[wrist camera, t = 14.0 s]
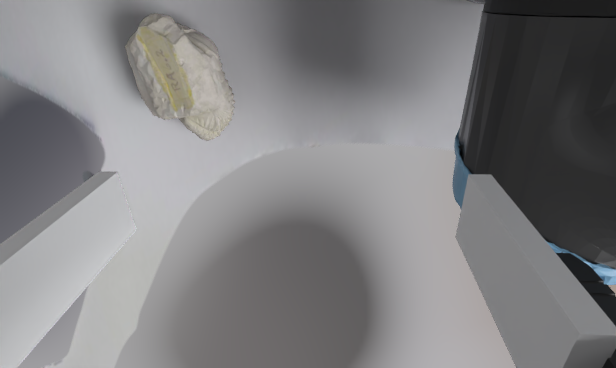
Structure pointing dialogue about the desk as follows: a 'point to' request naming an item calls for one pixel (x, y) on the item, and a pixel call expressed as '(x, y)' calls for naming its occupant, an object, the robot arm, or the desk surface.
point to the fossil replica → (180, 75)
